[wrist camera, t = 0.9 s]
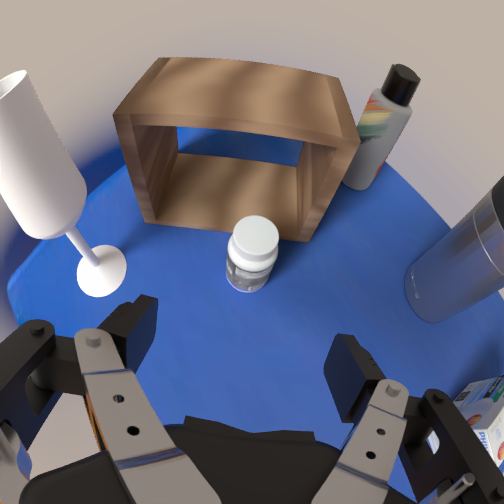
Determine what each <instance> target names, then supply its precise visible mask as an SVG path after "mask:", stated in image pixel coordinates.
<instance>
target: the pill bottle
mask: <svg viewBox="0 0 504 504" xmlns="http://www.w3.org/2000/svg"><path fill="white" fill-rule="evenodd" d="M278 242H279V233H278V230H277V228H276V226H275V225H274V224H273V223H272V222H271V221H270V220H268V219H267V218H265V217H262V216H257V215H252V216H247V217H244V218H243V219H241V220H240V221H239V222H238V223H237V224H236V226H235V228H234V231H233V234H232V236H231V237H230V240H229V243H228V248H227V264H226V275H227V279H228V281H229V283H230V284H231V285H232V286H233V287H234V288H235V289H237V290H239V291H242V292H255V291H257V290H259V289H261V288H262V287H263V286H264V285H265V283H266V282H267V280H268V278H269V275H270V273H271V270H272V268H273V265H274V263H275V261H276V259H277V255H278Z"/></svg>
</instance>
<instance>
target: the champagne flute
mask: <svg viewBox="0 0 504 504" xmlns="http://www.w3.org/2000/svg"><path fill="white" fill-rule="evenodd" d="M86 191H87V190H86V184H85V181H84V179H83V177H82V175H81V174H80V172H79V170H78V169H77V167H76V166H75V164H74V162H73V161H72V159H71V157H70V156H69V154H68V152H67V150H66V149H65V147H64V145H63V144H62V142H61V140H60V138H59V136H58V134H57V133H56V131H55V129H54V127H53V125H52V124H51V122H50V120H49V118H48V116H47V114H46V112H45V110H44V108H43V106H42V104H41V102H40V100H39V98H38V96H37V94H36V92H35V90H34V88H33V85H32V83H31V81H30V79H29V77H28V74H27V72H26V71H25V70H22V71H18V72H15V73H12V74H10V75H8V76H6V77H5V78H3V79H1V80H0V193H1V195H2V197H3V199H4V200H5V202H6V203H7V205H8V207H9V208H10V210H11V212H12V213H13V215H14V216H15V218H16V220H17V221H18V223H19V224H20V226H21V227H22V229H23V230H24V231H25V233H27V234H28V235H29V236H31V237H34V238H37V239H52V238H57V237H60V236H62V235H64V234H65V233H66V235H67V236H68V237H69V239H70V240H71V241H72V243H73V244H74V245H75V246H76V248H77V249H78V250H79V252H80V253H81V254H82V255H83V258H82V259H81V261H80V263H79V265H78V269H77V281H78V284H79V286H80V288H81V289H82V290H83V291H84V292H85V293H86V294H88V295H90V296H93V297H103V296H106V295H109V294H110V293H112V292H114V291H115V290H116V289H117V288H118V287H119V286H120V285H121V283H122V281H123V280H124V277H125V275H126V270H127V264H126V259H125V257H124V255H123V254H122V252H121V251H120V250H119V249H118V248H116V247H114V246H110V245H101V246H97V247H95V248H93V249H91V248H90V247H89V245H88V244H87V243H86V241H85V240H84V238H83V237H82V235H81V234H80V232H79V231H78V230H77V228H76V227H75V224H76V223H77V222H78V220H79V218H80V216H81V214H82V211H83V209H84V206H85V201H86V195H87V192H86Z"/></svg>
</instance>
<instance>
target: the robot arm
mask: <svg viewBox="0 0 504 504" xmlns="http://www.w3.org/2000/svg"><path fill="white" fill-rule="evenodd" d="M503 287H504V176H503V177H502V178H501V179H500V180H499V181H498V183H496V185H495V186H494V187H493V188H492V189H491V190H490V191H489V192H488V193H487V194H486V196H485V197H484V198H482V200H481V201H480V202H479V203H478V204H477V205H476V206H475V207H474V208H473V209H472V210H471V211H470V212H469V213H468V214H467V215H466V216H465V217H464V218H463V219H462V220H461V221H460V222H459V223H458V224H457V225H456V226H455V227H453V228H452V229H451V230H450V231H449V232H448V233H447V234H446V235H445V236H444V237H443V238H442V239H440V240H439V241H438V242H437V243H436V244H435V245H434V246H433V247H432V248H430V249H429V250H428V251H427V252H426V253H425V254H423V255H422V256H421V257H420V258H419V259H418V260H417V261H415V262H414V263H413V264H412V265H411V266H410V267H409V268H408V270H407V272H406V275H405V291H406V296H407V299H408V301H409V304H410V305H411V307H412V309H413V310H414V311H415V313H416V314H417V315H418V316H419V317H420V318H422V319H423V320H425V321H427V322H431V323H438V322H441V321H443V320H445V319H447V318H449V317H451V316H453V315H455V314H457V313H459V312H461V311H463V310H465V309H467V308H469V307H470V306H472V305H474V304H476V303H478V302H479V301H481V300H483V299H485V298H486V297H488V296H490V295H492V294H493V293H495V292H497V291H498V290H500V289H501V288H503ZM157 310H158V299H157V298H154V297H150V296H146V295H143V294H141V295H140V296H139V297H138V298H137V299H136V300H135V301H134V303H131V302H126V303H124V304H121V305H119V306H118V307H117V308H116V309H115V310H114V312H112V313H111V314H110V315H109V316H108V317H107V318H106V319H105V320H104V321H103V322H102V323H101V324H100V325H99V326H98V327H97V328H87V329H83V330H80V331H79V332H77V333H76V334H75V337H74V338H69V337H63V336H57V335H55V329H54V326H53V325H52V324H51V323H50V322H48V321H45V320H40V319H35V320H30V321H27V322H25V323H24V324H22V325H21V326H20V327H19V328H18V329H17V330H15V331H14V332H13V333H12V334H11V335H9V336H8V337H7V338H6V339H5V340H4V341H3V342H1V343H0V504H417V503H418V504H504V477H503V475H502V473H501V472H500V470H499V468H498V467H497V465H496V464H495V462H494V460H493V459H492V457H491V456H490V454H489V453H488V451H487V450H486V448H485V447H484V445H483V444H482V442H481V441H480V439H479V438H478V436H477V435H476V434H475V432H474V431H473V429H472V428H471V426H470V425H469V424H468V422H467V421H466V419H465V418H464V417H463V415H462V414H461V412H460V411H459V410H458V408H457V407H456V406H455V404H454V403H453V402H452V400H451V399H450V398H449V396H448V395H447V394H445V393H444V392H442V391H440V390H437V389H428V390H426V392H425V393H424V395H423V397H422V398H418V397H413V396H409V392H408V390H407V388H406V387H405V386H404V385H402V384H401V383H399V382H397V381H394V380H390V379H387V378H386V377H385V375H384V374H383V372H382V371H381V369H380V368H379V366H377V363H376V362H375V360H374V359H373V357H372V356H371V354H370V353H369V352H368V351H367V350H365V349H364V348H363V347H362V346H360V344H359V343H358V341H357V340H356V338H355V337H354V336H353V335H347V334H337V335H336V336H335V338H334V340H333V343H332V346H331V348H330V351H329V353H328V356H327V358H326V361H325V364H324V375H325V378H326V381H327V383H328V386H329V389H330V391H331V394H332V397H333V399H334V402H335V405H336V407H337V410H338V413H339V415H340V418H341V421H342V423H354V426H353V427H352V429H351V430H350V432H349V434H348V436H347V437H346V439H345V441H344V442H343V444H342V445H341V447H340V449H337V448H335V447H333V446H331V445H329V444H326V443H323V442H320V441H316V440H315V436H314V432H309V431H289V430H281V431H271V432H260V433H250V432H246V431H243V430H240V429H237V428H234V427H231V426H228V425H225V424H222V423H220V422H216V421H210V420H205V419H200V418H195V417H191V416H185V420H184V424H169V425H162V424H161V422H160V420H159V419H158V417H157V415H156V414H155V412H154V410H153V408H152V406H151V405H150V403H149V401H148V399H147V397H146V396H145V394H144V392H143V390H142V388H141V386H140V384H139V382H138V380H137V378H136V376H135V373H136V371H137V370H138V368H139V366H140V364H141V362H142V361H143V359H144V357H145V355H146V353H147V352H148V350H149V348H150V346H151V345H152V343H153V340H154V337H155V332H156V321H157ZM30 374H31V375H30ZM27 378H28V379H27ZM63 393H69V394H75V395H82V397H83V400H84V404H85V407H86V411H87V414H88V417H89V420H90V424H91V427H92V430H93V433H94V435H95V439H96V442H97V445H98V448H99V451H100V452H98V453H96V454H94V455H91V456H89V457H86V458H84V459H81V460H79V461H76V462H74V463H71V464H68V465H65V466H63V467H60V468H57V469H54V470H51V471H48V472H45V473H43V474H40V475H38V476H36V477H34V478H33V479H31V480H30V472H31V469H32V461H31V458H30V456H29V454H28V453H27V451H28V449H29V447H30V445H31V444H32V442H33V440H34V439H35V437H36V435H37V433H38V432H39V430H40V428H41V427H42V425H43V423H44V422H45V420H46V419H47V417H48V415H49V414H50V412H51V411H52V409H53V407H54V406H55V404H56V403H57V401H58V400H59V398H60V397H61V395H62V394H63ZM433 431H434V432H435V434H436V436H437V437H438V439H439V448H438V450H437V451H436V452H435V454H433V452H432V450H431V448H430V447H429V445H428V443H427V441H426V440H427V438H428V437H429V436H430V434H431V433H432V432H433ZM397 454H398V455H399V457H400V460H401V462H402V465H403V467H404V469H405V472H406V474H407V477H408V479H409V482H410V484H411V487H412V490H413V492H414V495H415V497H416V500H417V503H415V502H414V501H412V500H411V499H409V498H407V497H406V496H404V495H403V494H401V493H400V492H398V491H397V490H395V489H394V488H392V487H391V486H389V485H388V484H387V482H388V479H389V476H390V474H391V471H392V468H393V465H394V463H395V460H396V457H397Z"/></svg>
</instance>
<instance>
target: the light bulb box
mask: <svg viewBox="0 0 504 504" xmlns="http://www.w3.org/2000/svg"><path fill="white" fill-rule="evenodd" d="M453 403H454V404H455V406H456V407H457V408H458V410H459V411H460V412H461V414H462V415H463V417H464V418H465V419H466V421H467V422H468V424H469V425H470V426H471V428H472V429H473V431H474V432H475V434H476V435H477V436H478V438H479V439H480V441H481V442H482V444H483V445H484V447H485V448H486V450H487V451H488V453H489V454H490V456H491V457H492V459H493V460H494V462H495V464H496V465H497V467H499V465H500V464H501V463H502V461H503V460H504V375H502V376H499V377H495V378H491V379H487V380H482V381H478V382H473V383H469V384H468V386H467V387H466V388H465V389H464V390H463V391H462V392H461V393H460V395H459V396H458V397H457V398H456V399H455V400H454V401H453ZM428 439H429V442H430V445H431V447H432V450H433V453H434V454H435V452H436V451H437V450H438V448H439V439H438V437H437V436H436V434H435V432H434V431H433V432H432V433H431V434H430V436H429V437H428Z"/></svg>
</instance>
